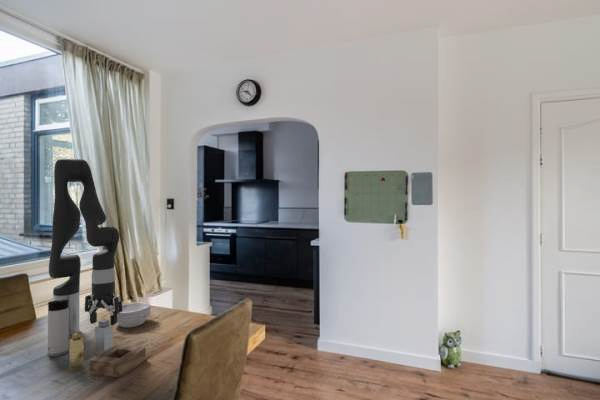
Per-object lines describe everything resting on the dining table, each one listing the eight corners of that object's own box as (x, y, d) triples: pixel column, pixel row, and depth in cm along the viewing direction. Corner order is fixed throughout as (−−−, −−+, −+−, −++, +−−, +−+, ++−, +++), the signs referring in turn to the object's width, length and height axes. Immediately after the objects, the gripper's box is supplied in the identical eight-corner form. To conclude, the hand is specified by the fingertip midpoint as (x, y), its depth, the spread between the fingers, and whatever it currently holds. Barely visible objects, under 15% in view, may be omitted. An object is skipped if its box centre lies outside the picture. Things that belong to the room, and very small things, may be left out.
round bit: (66, 370, 112) (66, 335, 111) (76, 364, 115) (76, 330, 115) (76, 372, 111) (76, 336, 111) (86, 366, 115) (86, 331, 115)
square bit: (94, 354, 123) (95, 322, 123) (103, 349, 127) (103, 318, 127) (104, 355, 123) (104, 322, 122) (112, 350, 126) (112, 319, 126)
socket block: (89, 373, 110) (89, 360, 110) (116, 356, 122) (116, 344, 122) (121, 377, 107) (121, 363, 107) (145, 359, 119) (145, 347, 119)
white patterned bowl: (118, 319, 159) (118, 302, 159) (153, 316, 162) (153, 300, 162) (108, 331, 144) (108, 313, 144) (146, 329, 147) (146, 311, 147)
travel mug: (45, 358, 120) (46, 303, 120) (49, 351, 125) (49, 298, 125) (67, 355, 123) (67, 300, 122) (69, 347, 128) (69, 296, 128)
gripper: (78, 282, 122) (78, 326, 122) (112, 283, 119) (112, 329, 119) (95, 277, 130) (95, 319, 130) (127, 278, 127) (127, 321, 127)
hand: (103, 323), depth 124 cm, fingers open, 8 cm apart
